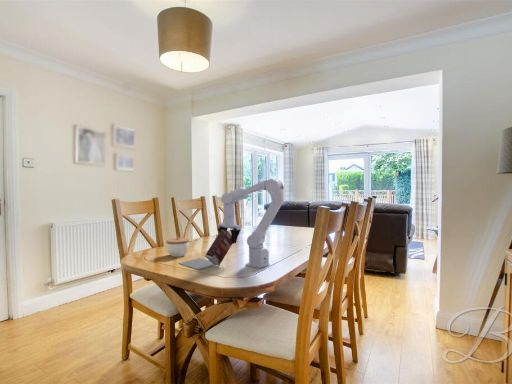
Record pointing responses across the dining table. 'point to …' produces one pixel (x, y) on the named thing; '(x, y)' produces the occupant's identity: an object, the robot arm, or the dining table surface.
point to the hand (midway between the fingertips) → (229, 242)
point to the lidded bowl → (177, 246)
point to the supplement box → (219, 247)
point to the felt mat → (198, 264)
